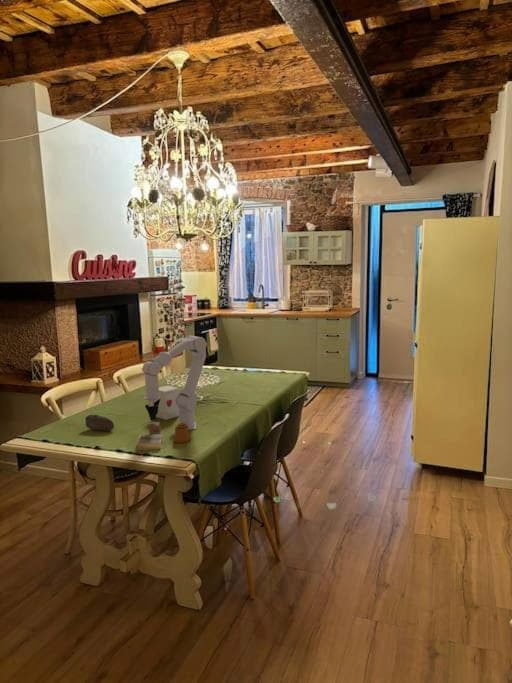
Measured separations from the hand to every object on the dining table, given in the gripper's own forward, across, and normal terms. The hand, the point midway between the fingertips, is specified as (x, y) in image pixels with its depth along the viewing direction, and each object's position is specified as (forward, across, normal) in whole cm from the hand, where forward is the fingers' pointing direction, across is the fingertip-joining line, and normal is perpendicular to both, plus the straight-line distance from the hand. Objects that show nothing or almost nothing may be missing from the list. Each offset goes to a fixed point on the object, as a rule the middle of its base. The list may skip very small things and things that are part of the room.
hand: (154, 417), depth 220 cm
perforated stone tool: (+10, -13, -27) cm, 31 cm away
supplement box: (+9, -28, +3) cm, 30 cm away
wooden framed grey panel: (+9, +10, -1) cm, 14 cm away
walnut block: (+9, 0, 0) cm, 9 cm away
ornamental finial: (+10, +7, +13) cm, 17 cm away
